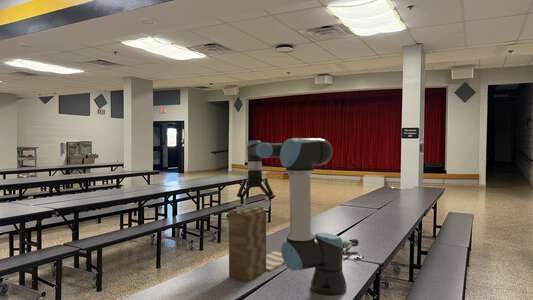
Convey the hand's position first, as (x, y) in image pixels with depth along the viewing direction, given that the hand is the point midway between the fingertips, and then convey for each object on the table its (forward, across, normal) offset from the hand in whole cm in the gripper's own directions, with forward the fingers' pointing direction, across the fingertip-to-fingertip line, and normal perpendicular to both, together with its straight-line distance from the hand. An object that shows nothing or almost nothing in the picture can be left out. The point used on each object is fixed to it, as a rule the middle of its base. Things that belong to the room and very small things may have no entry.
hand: (255, 209), depth 194 cm
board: (+27, -8, +4) cm, 28 cm away
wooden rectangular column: (+28, +11, +15) cm, 34 cm away
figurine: (+27, -45, +7) cm, 53 cm away
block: (-2, +8, +16) cm, 17 cm away
